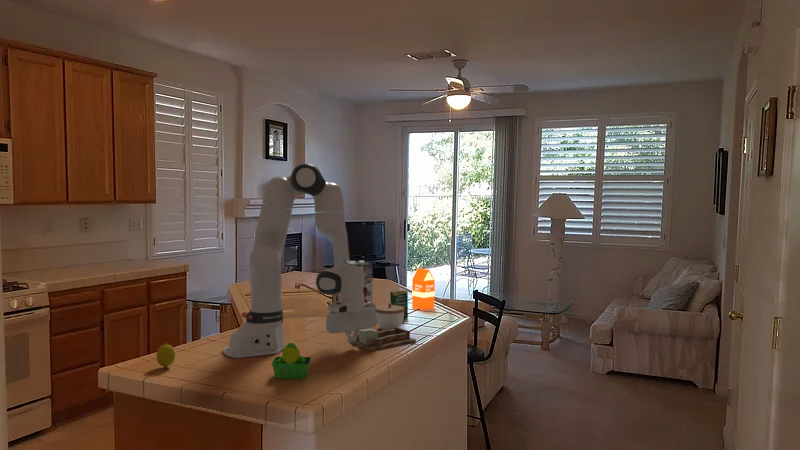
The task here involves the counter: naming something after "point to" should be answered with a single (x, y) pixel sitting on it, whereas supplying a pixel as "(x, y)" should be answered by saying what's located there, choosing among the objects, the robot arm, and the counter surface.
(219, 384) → the counter surface
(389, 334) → the board
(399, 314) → the lidded bowl
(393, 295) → the coffee box
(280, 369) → the fruit basket
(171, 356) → the lemon
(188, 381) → the counter surface
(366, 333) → the block
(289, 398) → the counter surface
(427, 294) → the orange juice
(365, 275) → the juice carton
